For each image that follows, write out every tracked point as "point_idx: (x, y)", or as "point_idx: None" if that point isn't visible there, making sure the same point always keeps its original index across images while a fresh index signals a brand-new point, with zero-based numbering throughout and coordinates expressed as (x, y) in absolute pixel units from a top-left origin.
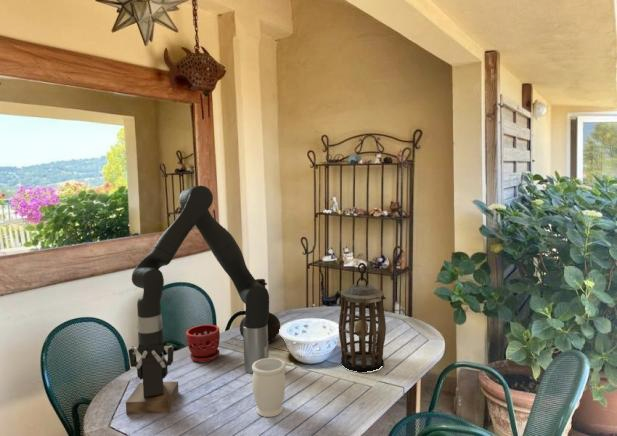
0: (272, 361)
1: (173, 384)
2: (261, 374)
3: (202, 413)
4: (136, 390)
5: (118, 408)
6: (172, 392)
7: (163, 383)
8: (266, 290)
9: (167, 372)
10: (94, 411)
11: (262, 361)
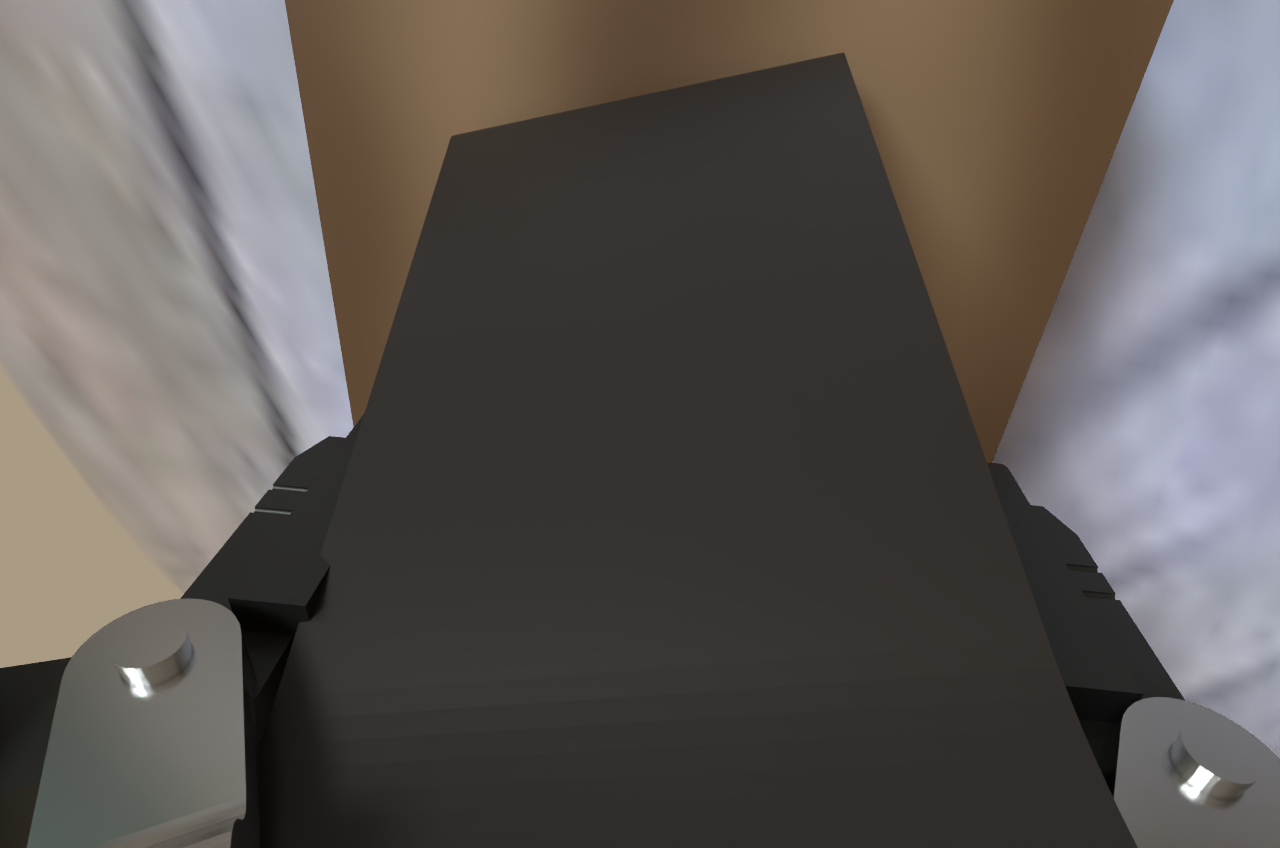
0: None
1: (1057, 124)
2: None
3: (1257, 578)
4: (371, 260)
5: (264, 324)
6: (1004, 426)
7: (839, 25)
8: None
9: (1081, 559)
10: (14, 344)
11: None
